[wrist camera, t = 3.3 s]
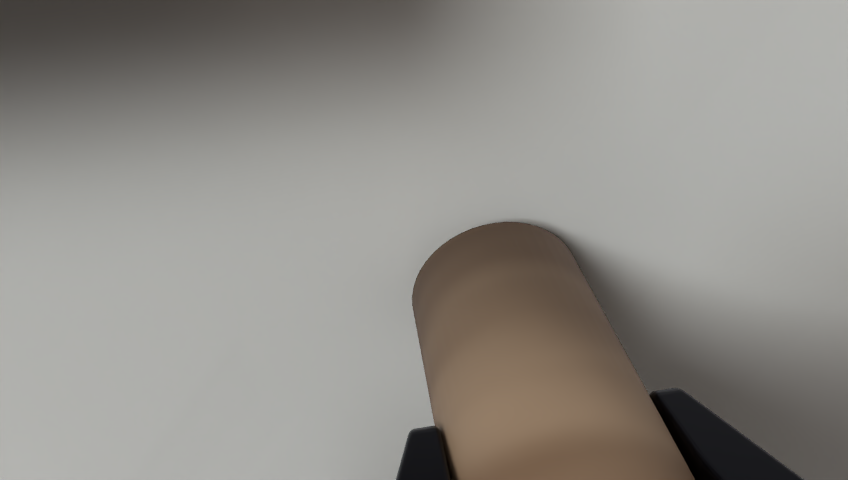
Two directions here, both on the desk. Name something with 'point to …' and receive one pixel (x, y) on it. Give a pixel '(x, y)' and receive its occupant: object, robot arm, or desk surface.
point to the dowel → (531, 366)
